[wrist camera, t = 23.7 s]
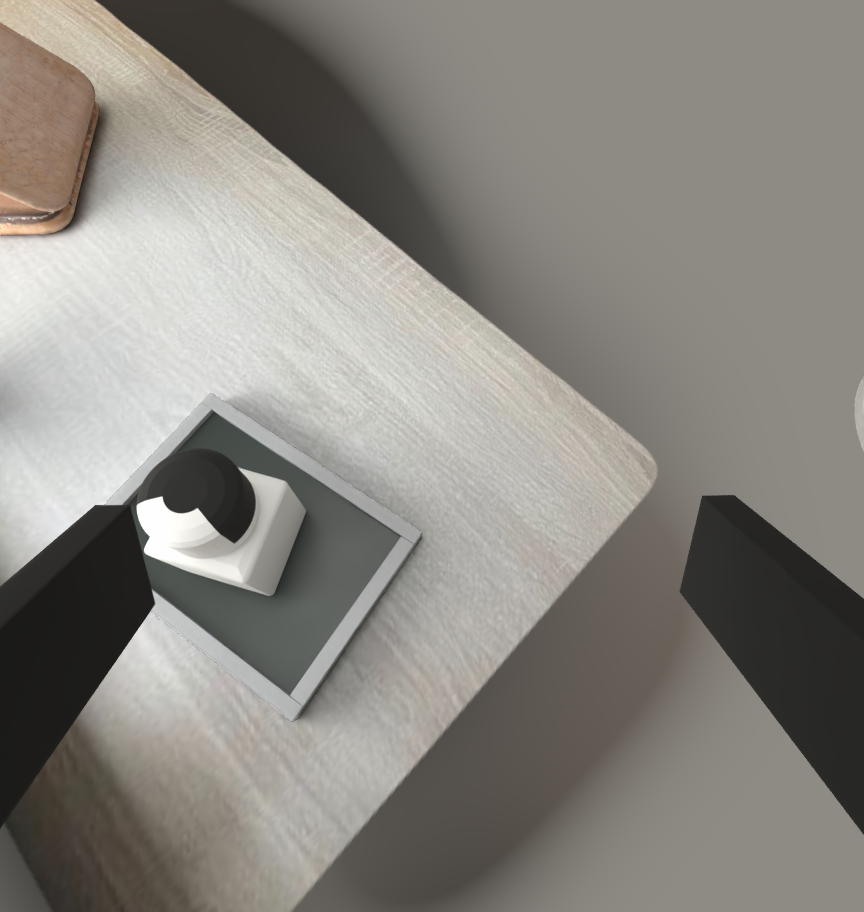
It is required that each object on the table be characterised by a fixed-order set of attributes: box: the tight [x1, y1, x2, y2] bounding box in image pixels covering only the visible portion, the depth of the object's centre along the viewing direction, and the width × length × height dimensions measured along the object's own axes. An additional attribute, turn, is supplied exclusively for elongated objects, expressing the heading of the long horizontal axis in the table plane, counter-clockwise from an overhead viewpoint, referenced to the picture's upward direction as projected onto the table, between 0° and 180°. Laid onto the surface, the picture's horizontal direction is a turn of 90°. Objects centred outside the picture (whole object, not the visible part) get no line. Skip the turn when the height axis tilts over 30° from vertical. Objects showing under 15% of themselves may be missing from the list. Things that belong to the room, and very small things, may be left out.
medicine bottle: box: [137, 448, 306, 596], centre depth 35 cm, size 7×7×12 cm
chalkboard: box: [104, 393, 422, 722], centre depth 41 cm, size 22×16×2 cm
